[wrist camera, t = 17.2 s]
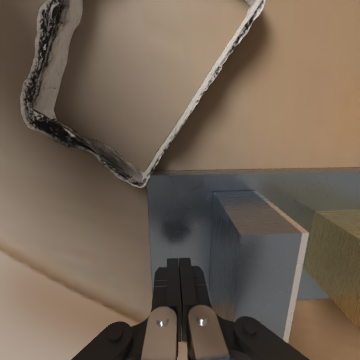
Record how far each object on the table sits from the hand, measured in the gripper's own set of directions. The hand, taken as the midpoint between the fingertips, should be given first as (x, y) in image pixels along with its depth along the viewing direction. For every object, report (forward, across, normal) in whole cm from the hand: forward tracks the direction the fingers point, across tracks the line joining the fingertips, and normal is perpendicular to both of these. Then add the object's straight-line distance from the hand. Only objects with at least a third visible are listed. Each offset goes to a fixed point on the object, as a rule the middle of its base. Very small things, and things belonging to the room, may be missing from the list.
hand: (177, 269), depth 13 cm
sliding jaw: (+2, -4, 0) cm, 5 cm away
